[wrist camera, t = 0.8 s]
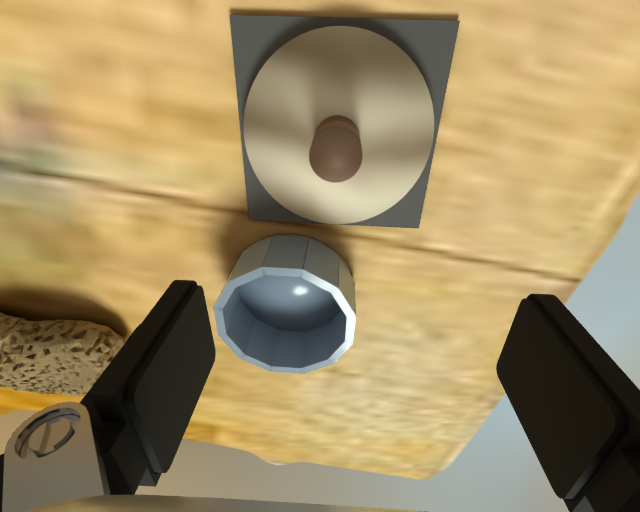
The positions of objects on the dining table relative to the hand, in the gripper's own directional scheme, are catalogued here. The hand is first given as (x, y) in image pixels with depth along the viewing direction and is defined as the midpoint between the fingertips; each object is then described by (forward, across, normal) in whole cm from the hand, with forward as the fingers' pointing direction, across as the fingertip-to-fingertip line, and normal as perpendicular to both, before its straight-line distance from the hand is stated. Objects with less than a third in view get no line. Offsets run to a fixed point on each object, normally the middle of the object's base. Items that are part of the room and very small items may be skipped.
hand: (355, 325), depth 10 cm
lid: (+21, +1, -1) cm, 21 cm away
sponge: (+23, +35, +24) cm, 48 cm away
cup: (+22, +5, +15) cm, 27 cm away
